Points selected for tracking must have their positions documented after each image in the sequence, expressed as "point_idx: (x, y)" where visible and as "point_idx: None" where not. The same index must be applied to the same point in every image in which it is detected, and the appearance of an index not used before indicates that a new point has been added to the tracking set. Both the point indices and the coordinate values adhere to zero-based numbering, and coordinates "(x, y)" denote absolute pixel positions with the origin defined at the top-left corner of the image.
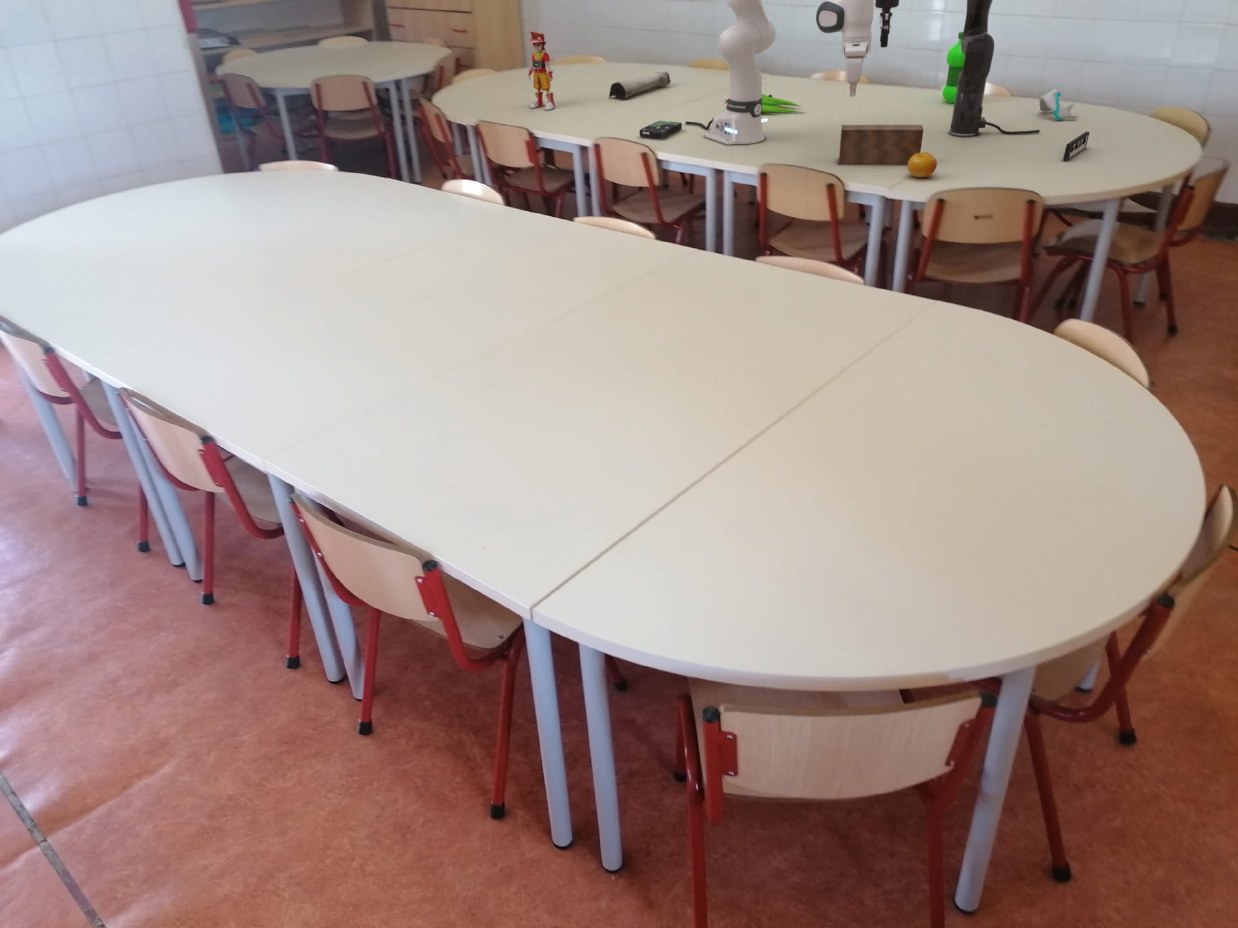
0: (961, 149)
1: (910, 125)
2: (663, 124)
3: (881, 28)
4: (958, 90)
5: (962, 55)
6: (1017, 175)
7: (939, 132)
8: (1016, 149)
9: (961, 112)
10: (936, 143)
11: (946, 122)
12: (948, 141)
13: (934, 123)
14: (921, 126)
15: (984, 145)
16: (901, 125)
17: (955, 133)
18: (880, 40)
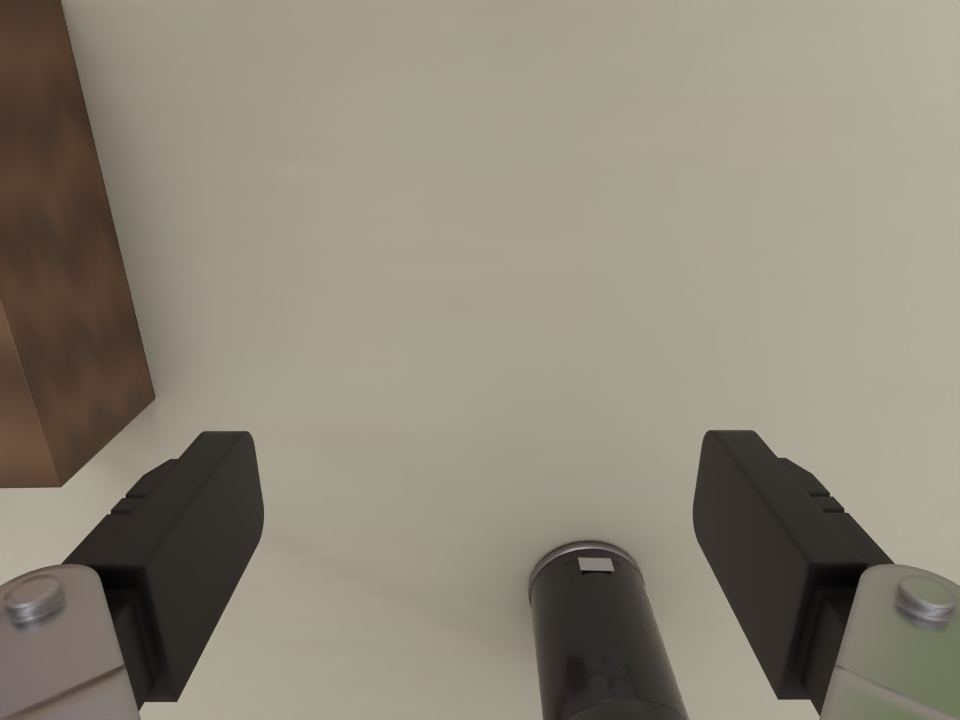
0: (346, 563)
1: (27, 429)
2: None
3: (75, 703)
4: (598, 714)
5: None
6: None
7: (612, 504)
8: (367, 714)
9: (548, 645)
10: (430, 483)
11: None
12: (464, 528)
13: None
14: (21, 483)
15: (411, 636)
16: (10, 382)
17: (546, 563)
18: (722, 447)
